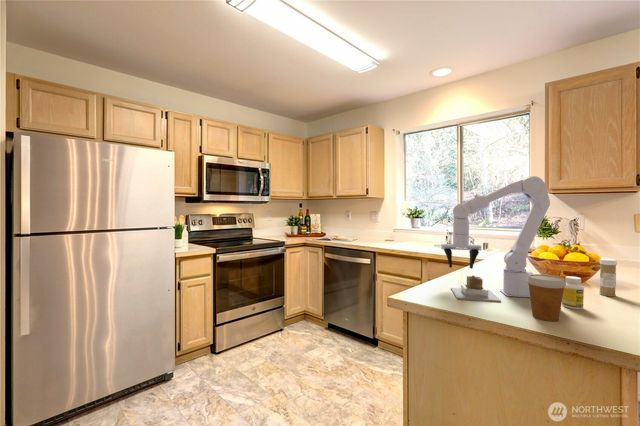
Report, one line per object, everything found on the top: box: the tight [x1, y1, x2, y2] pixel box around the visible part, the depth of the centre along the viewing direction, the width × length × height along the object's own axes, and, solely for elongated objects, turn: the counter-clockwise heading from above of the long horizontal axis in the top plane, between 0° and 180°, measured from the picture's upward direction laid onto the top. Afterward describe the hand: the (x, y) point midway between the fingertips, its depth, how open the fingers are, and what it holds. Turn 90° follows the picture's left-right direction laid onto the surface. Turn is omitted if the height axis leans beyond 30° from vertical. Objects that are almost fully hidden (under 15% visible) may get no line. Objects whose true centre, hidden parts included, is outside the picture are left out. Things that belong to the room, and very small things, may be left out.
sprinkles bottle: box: [598, 257, 618, 297], centre depth 114 cm, size 5×5×14 cm
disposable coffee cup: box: [527, 273, 566, 322], centre depth 91 cm, size 10×10×12 cm
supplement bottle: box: [561, 275, 585, 310], centre depth 100 cm, size 5×5×10 cm
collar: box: [460, 283, 489, 297], centre depth 114 cm, size 8×8×2 cm
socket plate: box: [450, 287, 502, 303], centre depth 114 cm, size 14×14×1 cm
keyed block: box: [466, 275, 484, 289], centre depth 114 cm, size 4×4×6 cm
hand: (460, 267), depth 124 cm, fingers open, 7 cm apart
